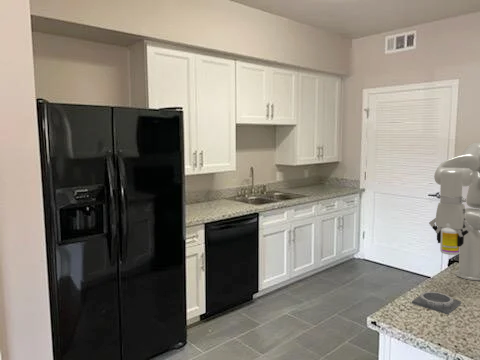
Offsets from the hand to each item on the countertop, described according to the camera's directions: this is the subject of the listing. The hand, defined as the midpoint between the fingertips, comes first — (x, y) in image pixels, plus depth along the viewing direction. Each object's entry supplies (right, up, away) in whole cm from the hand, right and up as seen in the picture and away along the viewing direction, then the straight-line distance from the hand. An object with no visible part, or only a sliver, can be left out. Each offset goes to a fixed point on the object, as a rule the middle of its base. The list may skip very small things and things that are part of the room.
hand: (449, 243), depth 147 cm
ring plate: (-9, -22, -6) cm, 25 cm away
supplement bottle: (0, -4, 0) cm, 4 cm away
